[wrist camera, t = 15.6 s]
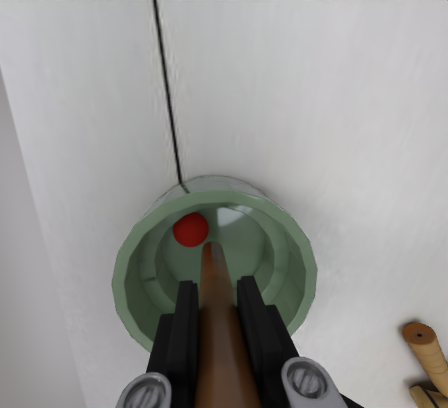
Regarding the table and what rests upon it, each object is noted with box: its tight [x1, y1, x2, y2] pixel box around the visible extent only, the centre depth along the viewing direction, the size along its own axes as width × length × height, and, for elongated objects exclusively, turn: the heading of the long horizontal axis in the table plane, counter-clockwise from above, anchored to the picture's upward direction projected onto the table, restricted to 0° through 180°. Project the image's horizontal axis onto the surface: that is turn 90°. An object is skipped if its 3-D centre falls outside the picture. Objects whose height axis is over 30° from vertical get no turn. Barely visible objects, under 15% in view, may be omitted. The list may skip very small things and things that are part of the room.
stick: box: [194, 241, 263, 408], centre depth 12 cm, size 2×2×14 cm
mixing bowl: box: [112, 176, 317, 353], centre depth 19 cm, size 14×14×7 cm
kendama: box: [402, 323, 448, 408], centre depth 26 cm, size 8×6×18 cm
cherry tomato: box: [173, 212, 209, 247], centre depth 19 cm, size 3×3×3 cm
